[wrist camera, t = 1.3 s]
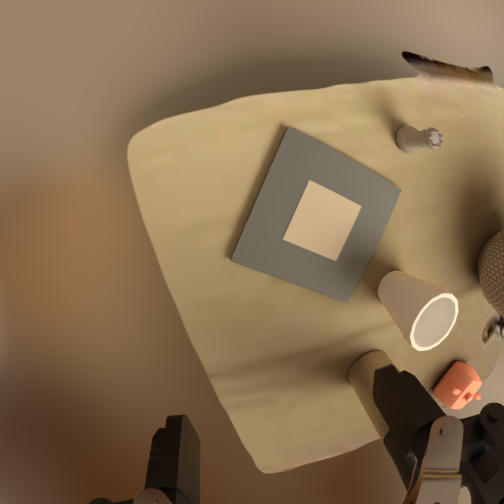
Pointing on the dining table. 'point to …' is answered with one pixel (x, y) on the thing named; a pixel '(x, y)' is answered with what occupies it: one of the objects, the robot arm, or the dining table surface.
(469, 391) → the teapot
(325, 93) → the dining table surface
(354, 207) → the board
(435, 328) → the foam cup
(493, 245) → the planter
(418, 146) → the rook chess piece
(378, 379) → the robot arm
